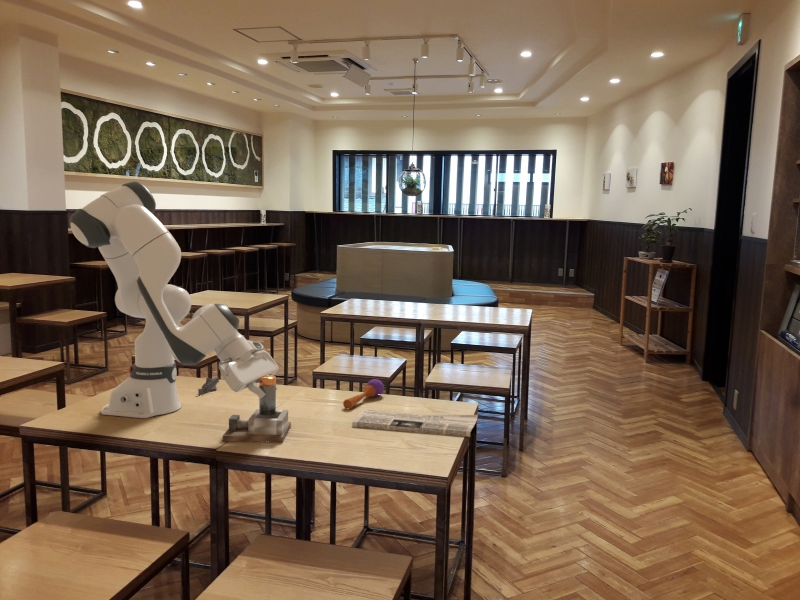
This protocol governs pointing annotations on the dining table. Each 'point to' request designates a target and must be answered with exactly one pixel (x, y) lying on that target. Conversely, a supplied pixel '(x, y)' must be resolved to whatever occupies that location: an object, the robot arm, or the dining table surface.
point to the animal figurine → (209, 385)
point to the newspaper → (417, 422)
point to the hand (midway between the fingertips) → (269, 393)
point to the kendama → (366, 393)
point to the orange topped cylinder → (268, 395)
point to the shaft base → (259, 427)
